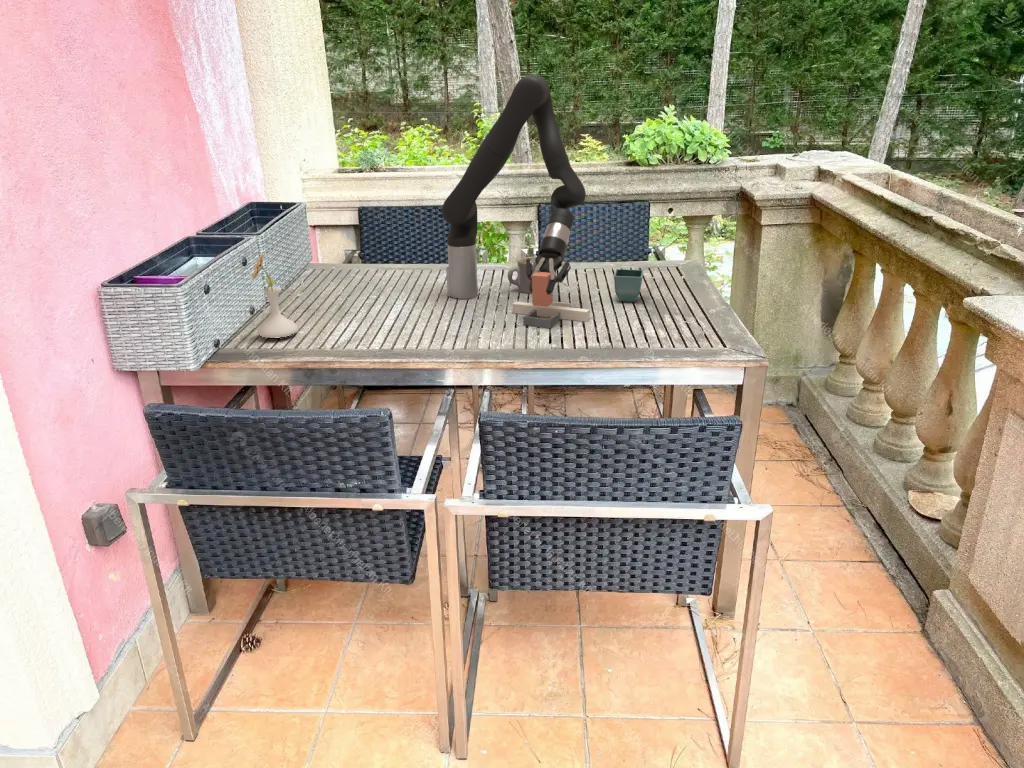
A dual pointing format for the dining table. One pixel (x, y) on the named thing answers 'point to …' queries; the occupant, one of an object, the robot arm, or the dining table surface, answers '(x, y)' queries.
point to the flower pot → (627, 284)
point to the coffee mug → (521, 275)
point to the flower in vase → (273, 309)
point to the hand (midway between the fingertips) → (540, 292)
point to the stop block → (541, 289)
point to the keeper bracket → (540, 320)
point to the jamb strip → (553, 310)
